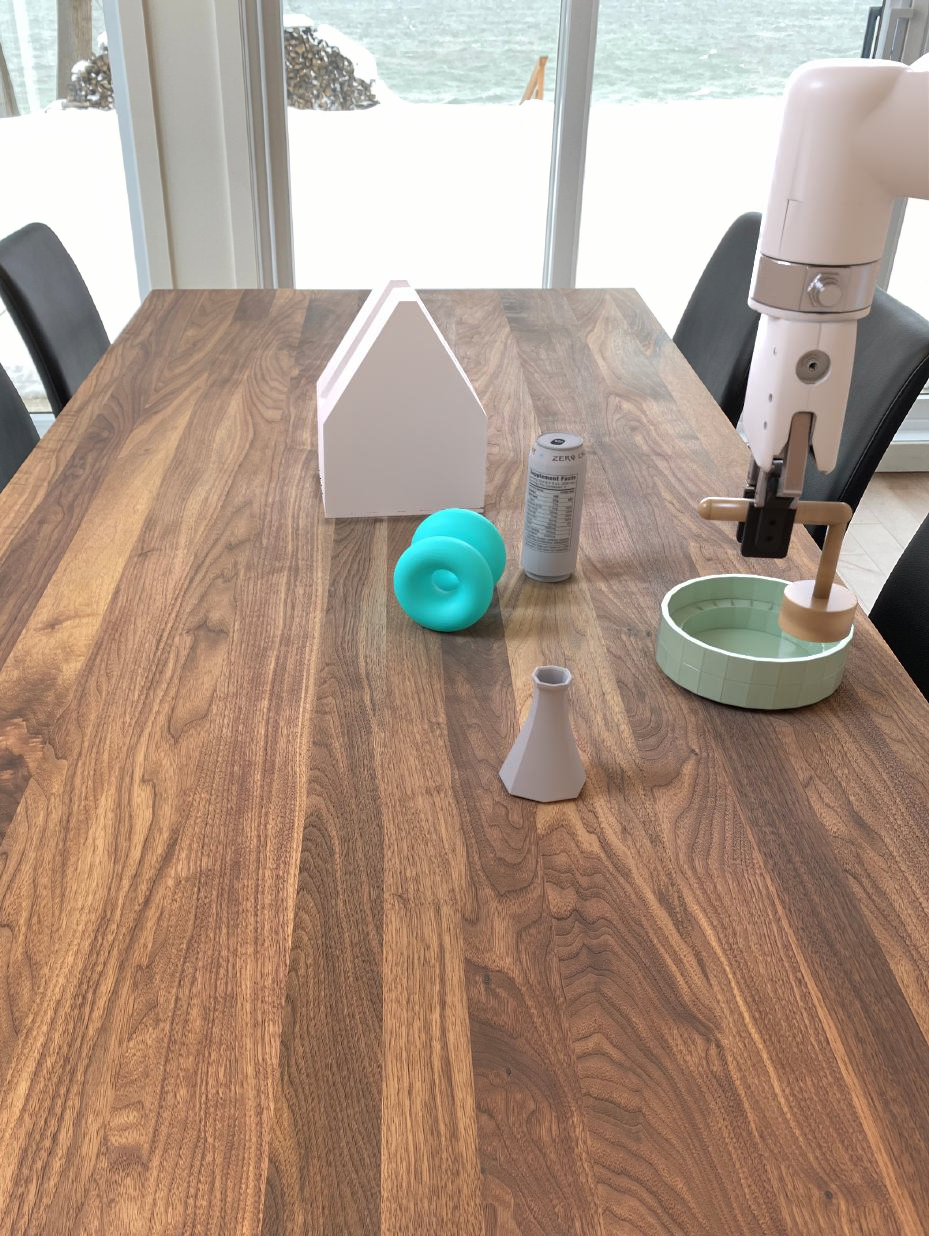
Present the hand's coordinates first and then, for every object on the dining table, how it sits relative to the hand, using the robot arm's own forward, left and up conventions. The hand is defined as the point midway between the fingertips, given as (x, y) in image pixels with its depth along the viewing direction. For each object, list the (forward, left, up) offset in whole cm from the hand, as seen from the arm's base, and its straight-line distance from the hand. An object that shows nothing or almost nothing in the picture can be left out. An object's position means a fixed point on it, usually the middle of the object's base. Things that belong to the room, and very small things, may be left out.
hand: (760, 547), depth 86 cm
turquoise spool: (+24, -27, -21) cm, 42 cm away
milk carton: (+33, -59, -21) cm, 71 cm away
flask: (+14, +1, -21) cm, 25 cm away
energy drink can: (+14, -38, -21) cm, 45 cm away
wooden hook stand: (-1, 0, -6) cm, 6 cm away
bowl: (-5, -20, -21) cm, 29 cm away
